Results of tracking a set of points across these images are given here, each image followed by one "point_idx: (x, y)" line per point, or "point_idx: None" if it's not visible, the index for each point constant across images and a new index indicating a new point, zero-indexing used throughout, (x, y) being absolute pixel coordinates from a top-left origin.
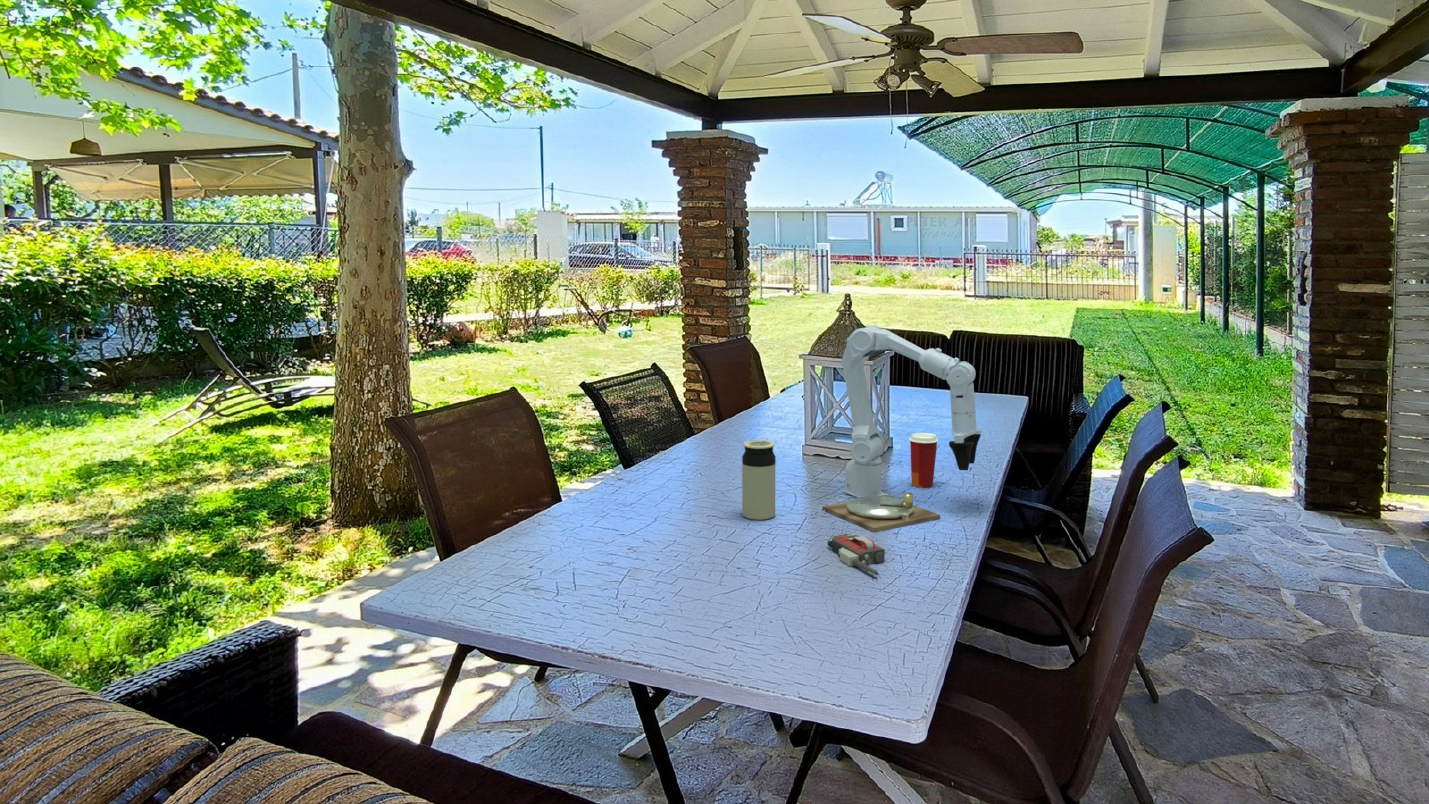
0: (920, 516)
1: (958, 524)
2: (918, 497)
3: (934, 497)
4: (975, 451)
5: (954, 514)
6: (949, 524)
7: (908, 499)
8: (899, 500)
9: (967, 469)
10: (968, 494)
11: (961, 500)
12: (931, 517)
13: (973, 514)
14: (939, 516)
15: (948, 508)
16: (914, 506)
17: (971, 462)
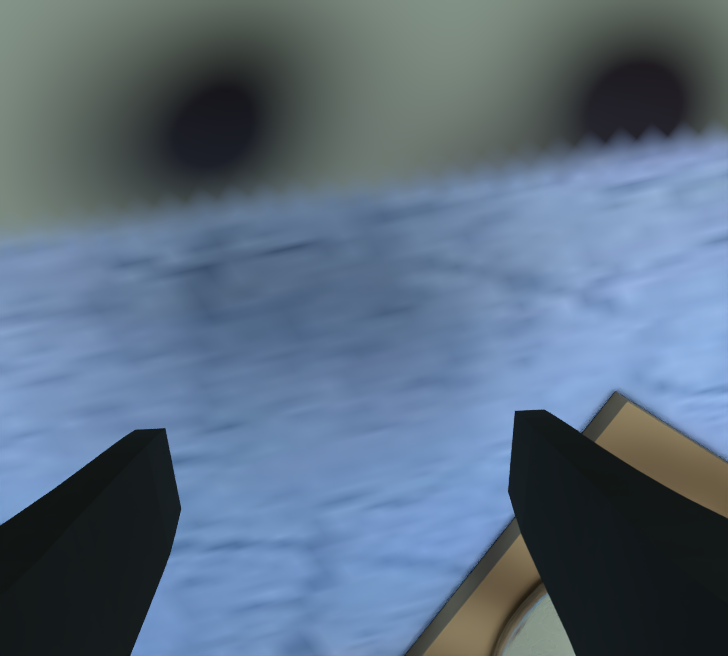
0: (697, 481)
1: (687, 275)
2: (249, 592)
3: (201, 525)
4: (76, 508)
5: (496, 343)
6: (702, 320)
7: None
8: (543, 646)
9: (550, 414)
10: (9, 375)
11: (176, 379)
12: (674, 430)
13: (449, 243)
14: (627, 399)
15: (388, 403)
16: (517, 557)
17: (163, 456)
